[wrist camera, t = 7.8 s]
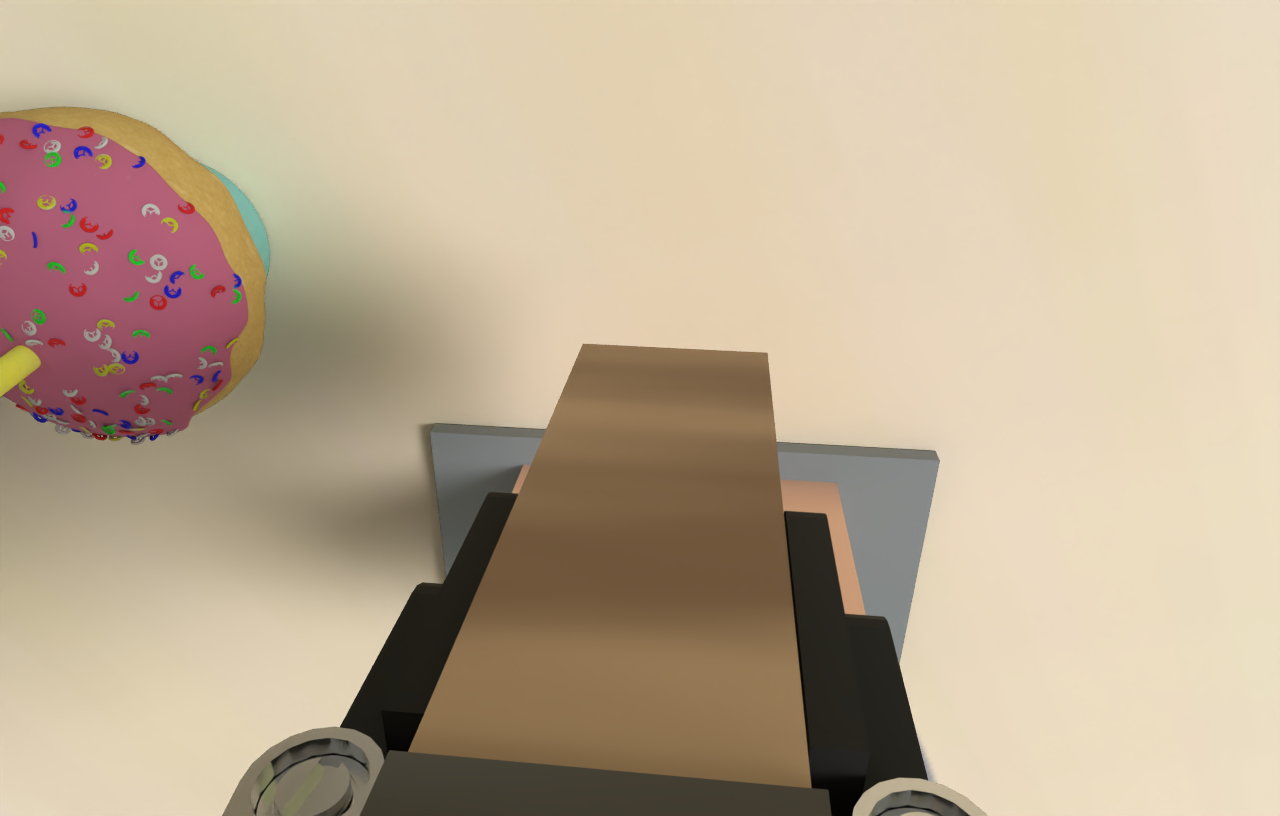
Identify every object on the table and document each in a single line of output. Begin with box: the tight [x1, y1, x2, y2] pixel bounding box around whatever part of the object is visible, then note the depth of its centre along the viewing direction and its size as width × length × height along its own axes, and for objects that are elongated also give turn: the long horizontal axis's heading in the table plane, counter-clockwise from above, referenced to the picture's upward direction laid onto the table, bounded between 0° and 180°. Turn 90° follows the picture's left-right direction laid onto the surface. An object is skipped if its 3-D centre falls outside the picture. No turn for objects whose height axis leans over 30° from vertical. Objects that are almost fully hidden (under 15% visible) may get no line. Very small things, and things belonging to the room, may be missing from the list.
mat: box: [430, 424, 940, 663], centre depth 31 cm, size 16×16×1 cm
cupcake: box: [0, 107, 270, 445], centre depth 20 cm, size 9×8×12 cm
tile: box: [512, 465, 866, 615], centre depth 23 cm, size 2×10×11 cm, turn 89°
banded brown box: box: [360, 344, 832, 816], centre depth 9 cm, size 5×3×14 cm
